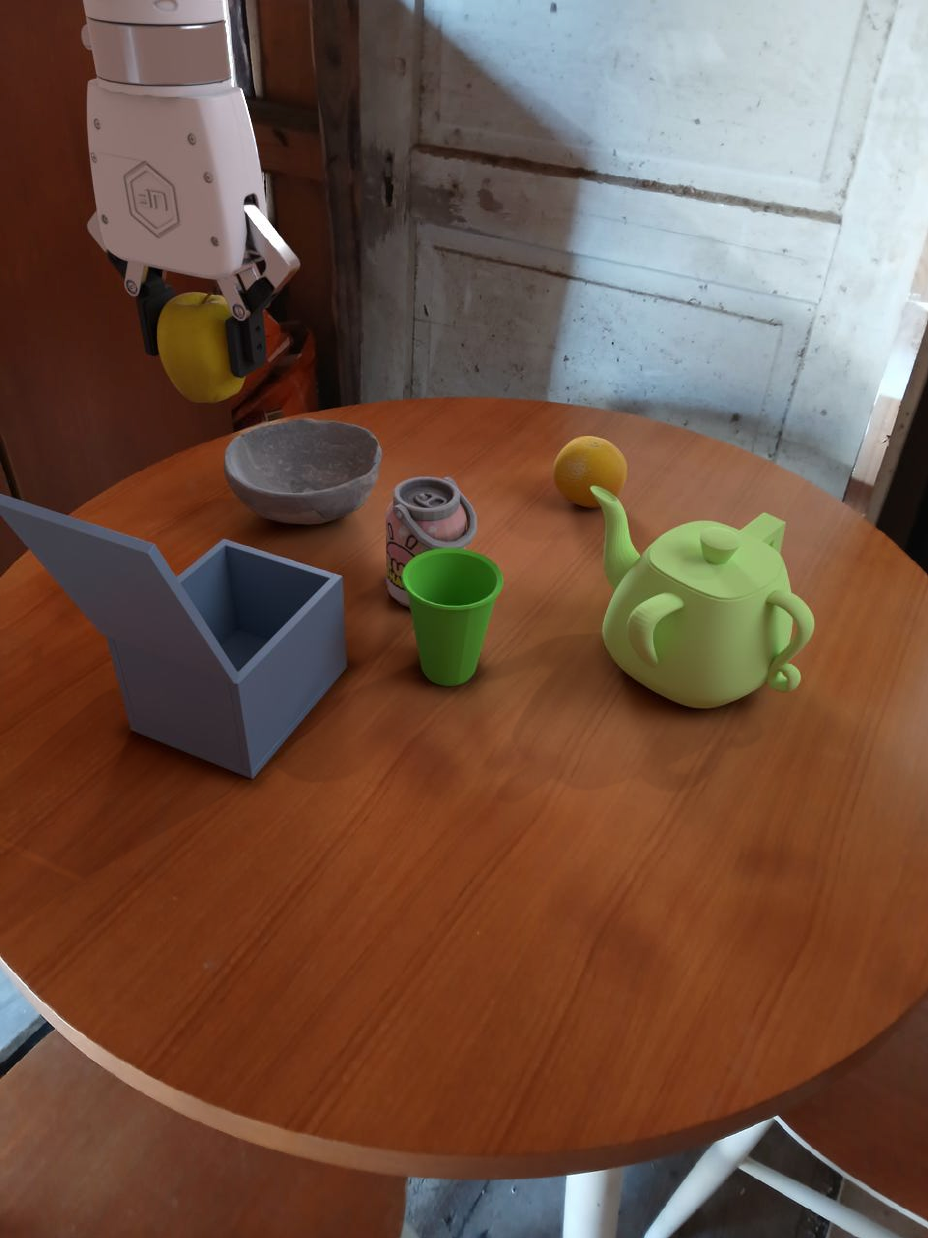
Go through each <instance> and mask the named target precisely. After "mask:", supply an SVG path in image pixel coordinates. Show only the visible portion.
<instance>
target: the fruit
mask: <svg viewBox="0 0 928 1238" xmlns="http://www.w3.org/2000/svg"><path fill="white" fill-rule="evenodd" d="M552 473H553V477H552V478H553V480H554V483H555V486H556V488H557V490H558V492H559V494H561V495H562V496H563V497H564V498H565V499H566V500H567V501H569V502H571V503H572V504H575V505H578V506H581V507H583V508H599V507H601V505H600V504H599V502H598V501H597V499H596V498H595V496H594V495H593V494H592V492H591V490H590V487H591V486H598V487H601V488H603V489H605V490H607V491H608V492H610V493H611V494H613V495H614V496H615V497H616V498H617V497H618V496H619V495H620V493H621V491H622V489H623V488H624V486H625V483H626V480H627V475H628V465H627V461H626V459H625V456H624V454H623V453H622V452H621V450H620V449H618V447H617V446H615V444H614V443H612V442H610V441H608V440H606V439H604V438H601V437H598V436H594V435H593V436H592V435H585V436H584V435H583V436H578V437H576V438H574V439H572V440H570V441H569V442H568V443H567V444H566V445H565V446H563V448H562V449H561V450H560V452H559V453H558V454H557V456H556V457H555V460H554V463H553V467H552Z"/></svg>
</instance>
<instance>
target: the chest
mask: <svg viewBox="0 0 928 1238" xmlns="http://www.w3.org/2000/svg"><path fill="white" fill-rule="evenodd" d="M176 578H177V579H178V581H179V582H180V584H181V586H182V587H183V589H184V590H185V592H186V593H187V595H188V596H189V598H190V600H191V601H192V603H193V604H194V606H195V607H196V609H197V610H198V612H199V614H200V615H201V617H202V618H203V620H204V621H205V623H206V624H207V626H208V628H209V629H210V631H211V632H212V634H213V635H214V637H215V638H216V640H217V641H218V643H219V645H220V646H221V648H222V649H223V651H224V652H225V654H226V655H227V657H228V659H229V660H230V662H231V663H232V665H233V666H234V668H235V669H236V671H237V673H238V674H239V677H238V679H237V680H236V682H235V683H234V684H233V683H230V682H228V681H225V680H222V679H220V678H217V677H214V676H211V675H209V674H206V673H203V672H201V671H198V670H195V669H193V668H190V667H187V666H184V665H182V664H179V663H176V662H174V661H171V660H168V659H166V658H163V657H160V656H157V655H155V654H152V653H149V652H147V651H144V650H141V649H138V648H136V647H133V646H130V645H128V644H125V643H122V642H120V641H117V640H114V639H111V638H109V637H106V636H105V638H106V642H107V646H108V651H109V653H110V658H111V660H112V665H113V668H114V672H115V676H116V679H117V680H116V681H117V684H118V687H119V691H120V694H121V698H122V702H123V705H124V710H125V713H126V717H127V720H128V724H129V728H130V730H131V731H132V732H135V733H137V734H140V735H142V736H145V737H147V738H149V739H152V740H154V741H157V742H159V743H161V744H165V745H166V746H169V747H171V748H175V749H177V750H179V751H182V752H184V753H187V754H189V755H191V756H194V757H197V758H199V759H201V760H204V761H206V762H209V763H212V764H214V765H216V766H219V767H221V768H224V769H226V770H228V771H231V772H234V773H236V774H238V775H241V776H243V777H246V778H249V779H251V780H253V779H254V778H255V777H256V776H257V774H258V773H259V772H260V771H261V770H262V768H264V766H265V765H266V764H267V763H268V762H269V760H270V759H271V758H272V757H273V756H274V755H275V754H276V752H277V751H278V750H279V749H280V748H281V746H282V745H283V744H284V743H285V742H286V740H287V739H288V738H289V737H290V736H291V735H292V733H293V732H294V731H295V729H296V728H297V727H298V726H299V725H300V723H302V722H303V720H304V719H306V717H307V715H309V713H310V712H311V711H312V709H314V707H315V706H316V705H317V704H318V703H319V701H320V700H321V699H322V698H323V697H324V695H325V694H326V693H327V692H328V691H329V689H330V688H331V687H332V686H333V685H334V683H336V681H337V680H338V679H339V677H341V676H342V674H343V673H344V671H345V670H346V669H347V668H348V662H347V661H348V660H347V659H348V658H347V642H346V641H347V639H346V622H345V621H346V620H345V601H344V582H343V576H342V575H340V574H338V573H333V572H331V571H328V570H324V569H322V568H321V569H320V568H318V567H315V566H311V565H308V564H305V563H301V562H299V561H296V560H292V559H290V558H286V557H282V556H279V555H276V554H273V553H271V552H267V551H264V550H260V549H258V548H254V547H251V546H247V545H244V544H241V543H238V542H235V541H231V540H229V539H226V538H222V539H221V540H220V541H219V542H218V543H216V544H215V545H214V546H213V547H211V548H210V549H209V550H207V551H206V552H205V553H204V554H203V555H202V556H201V557H199V558H198V559H197V560H196V561H195V562H193V563H192V564H191V565H189V566H188V567H187V568H186V569H185V570H183V571H182V572H181V573H180V574H178V575H177V576H176Z"/></svg>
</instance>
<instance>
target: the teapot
mask: <svg viewBox="0 0 928 1238" xmlns="http://www.w3.org/2000/svg"><path fill="white" fill-rule="evenodd" d="M590 490H591V492H592V494H593V495H594V496H595V498H596V499H597V501H598V502H599V504H600V505H601V506H600V507H601V510H602V512H603V515H604V523H605V534H604V535H605V536H604V543H603V544H604V545H603V556H602V557H603V559H602V560H603V561H602V562H603V570H604V573H605V577H606V579H607V581H608V583H609V586H610V587H611V589H612V590H613V591H614V593H613V594H612V597H611V599H610V601H609V604H608V607H607V609H606V613H605V615H604V617H603V622H602V628H601V635H602V640H603V643H604V645H605V648H606V649H607V651H608V654H609V655H610V657H611V658H612V660H613V661H614V662H615V663H616V665H617V666H618V667H619V668H620V669H621V670H622V671H623V672H624V673H626V674H627V675H628V676H629V677H630V678H632V679H633V680H635V681H637V682H638V683H640V684H641V685H643V686H644V687H645V688H647V689H649V690H650V691H652V692H654V693H656V694H658V695H660V696H662V697H664V698H666V699H668V700H670V701H672V702H675V703H676V704H680V705H682V706H686V707H689V708H694V709H712V708H713V709H714V708H719V707H723V706H725V705H728V704H730V703H732V702H735V701H737V700H739V699H741V698H744V697H745V696H747V695H749V694H751V693H753V692H754V691H756V690H757V689H759V688H761V687H762V686H764V685H765V684H766V685H767V686H768V687H769V688H770V689H771V690H774V691H775V692H778V693H790V692H792V691H795V690H796V689H797V687H798V686H799V685H800V682H801V680H802V679H801V677H802V676H801V673H800V672H801V671H800V670H799V669H798V668H797V667H796V666H795V665H794V664H791V663H789V662H790V661H791V660H792V659H794V658H795V656H797V655H798V654H799V653H800V652H801V651H802V650H803V649H804V648H805V647H806V646H807V644H808V643H809V641H810V640H811V638H812V636H813V634H814V632H815V631H814V630H815V618H814V615H813V611H811V608H809V606H808V605H807V603H806V602H804V600H803V599H802V598H800V597H799V596H798V595H796V594H795V593H793V592H792V589H791V584H790V579H789V574H788V571H787V567H786V563H785V561H784V559H783V556H782V555H781V552H782V547H783V540H784V536H785V535H784V534H785V529H786V524H787V522H786V521H784V520H782V519H780V518H779V517H776V516H774V515H772V514H769V513H767V512H765V511H764V512H762V513H761V514H759V515H758V516H757V517H755V518H754V519H753V520H752V521H750V522H749V523H747V524H746V525H745V526H744V527H743V528H741V529H737V528H735V527H732V526H730V525H727V524H725V523H721V522H718V521H714V520H695V521H691V522H686V523H683V524H680V525H677V526H676V527H673V528H671V529H670V530H667V531H666V532H664V533H663V534H661V535H660V536H659V537H658V538H656V539H655V541H653V542H651V544H650V545H649V546H648V547H647V548H646V549H645V550H644V551H643V552H642V553H641V555H640V553H639V552H638V551H637V550H636V548H635V546H634V544H633V542H632V539H631V535H630V530H629V529H630V528H629V523H628V517H627V513H626V510H625V509H624V506H623V505H622V503H621V501H620V500H619V499H618V498H617V497H615V496H614V495H613V494H611V493H610V492H608V491H607V490H605V489H603V488H601V487H598V486H591V487H590ZM793 623H795V627H796V632H795V635H794V637H793V638H792V637H791V636H792V631H793ZM791 639H792V640H791Z"/></svg>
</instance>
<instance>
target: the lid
mask: <svg viewBox="0 0 928 1238" xmlns="http://www.w3.org/2000/svg"><path fill="white" fill-rule="evenodd" d="M0 517H1V518H2V519H3V520H4V521H5V522H6V523H7V525H8V526H9V527H10V528H11V530H12V531H13V532H14V533H15V535H17V537H18V538H19V539H20V540H21V541H22V543H23V544H24V546H26V547H27V549H28V550H29V551H30V552H31V553H32V554H33V556H34V557H35V558H36V559H37V561H38V562H39V563H40V564H41V565H42V566H43V567H44V569H45V570H46V571H47V572H48V573H49V575H50V576H51V577H52V579H54V581H55V582H56V583H57V584H58V585H59V587H60V588H61V589H62V590H63V591H64V593H65V594H66V595H67V596H68V597H69V598H70V599H71V601H72V602H73V603H74V604H75V605H76V607H77V608H78V609H79V610H80V611H81V613H82V614H83V615H84V616H85V617H86V619H87V620H88V621H89V622H90V623H91V624H92V625H93V627H94V628H95V630H96V631H97V632H98V633H99V634H100V635H101V636H104V637H105V638H106V637H109V638H111V639H114V640H117V641H120V642H122V643H125V644H128V645H130V646H133V647H136V648H138V649H141V650H144V651H147V652H149V653H152V654H155V655H157V656H160V657H163V658H166V659H168V660H171V661H174V662H176V663H179V664H182V665H184V666H187V667H190V668H193V669H195V670H198V671H201V672H203V673H206V674H209V675H211V676H214V677H217V678H220V679H222V680H225V681H228V682H230V683H233V684H234V683H235V682H236V680H237V679H238V677H239V674H238V673H237V671H236V669H235V668H234V666H233V665H232V663H231V662H230V660H229V659H228V657H227V655H226V654H225V652H224V651H223V649H222V648H221V646H220V645H219V643H218V641H217V640H216V638H215V637H214V635H213V634H212V632H211V631H210V629H209V628H208V626H207V624H206V623H205V621H204V620H203V618H202V617H201V615H200V614H199V612H198V610H197V609H196V607H195V606H194V604H193V603H192V601H191V600H190V598H189V596H188V595H187V593H186V592H185V590H184V589H183V587H182V586H181V584H180V582H179V581H178V579H177V578H176V577H177V576H176V575H175V573H174V572H173V570H172V569H171V567H170V566H169V563H168V562H167V561H166V559H165V557H164V556H163V555H162V553H161V552H160V550H159V549H158V547H157V545H156V544H155V543H153V542H150V541H146V540H143V539H140V538H137V537H134V536H131V535H128V534H125V533H122V532H119V531H116V530H113V529H110V528H107V527H103V526H100V525H98V524H95V523H91V522H88V521H85V520H82V519H79V518H76V517H72V516H69V515H66V514H64V513H60V512H57V511H54V510H51V509H48V508H45V507H42V506H39V505H37V504H34V503H33V504H32V503H30V502H27V501H23V500H20V499H18V498H15V497H11V496H8V495H5V494H2V493H0Z"/></svg>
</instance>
